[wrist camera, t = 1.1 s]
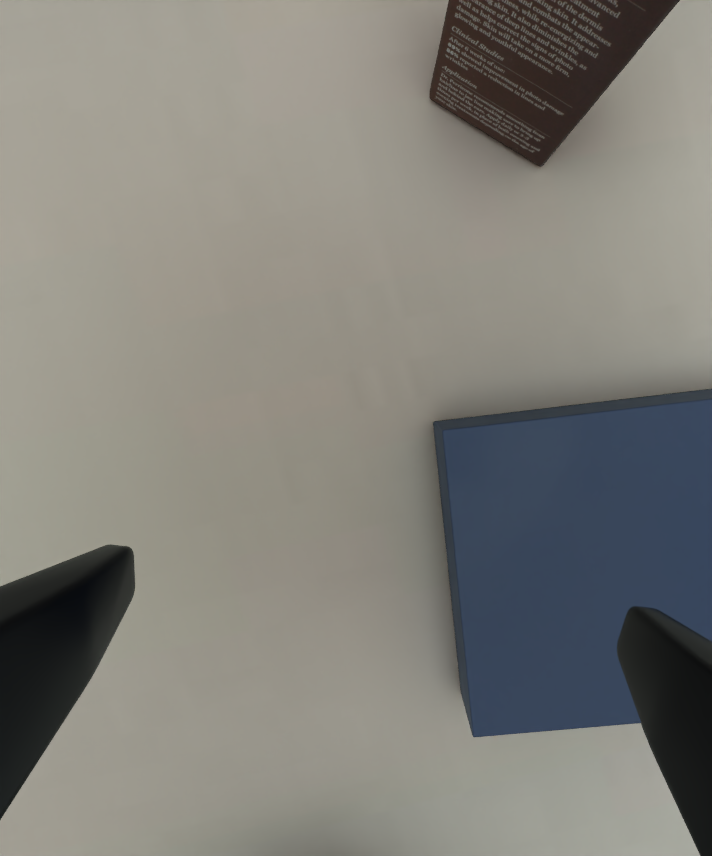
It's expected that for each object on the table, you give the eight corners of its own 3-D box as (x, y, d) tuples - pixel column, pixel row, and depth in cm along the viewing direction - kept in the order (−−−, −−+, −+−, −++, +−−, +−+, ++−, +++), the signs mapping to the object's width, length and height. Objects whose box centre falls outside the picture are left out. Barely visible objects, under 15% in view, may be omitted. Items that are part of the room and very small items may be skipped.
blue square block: (734, 668, 24) (785, 711, 21) (460, 692, 25) (473, 738, 22) (727, 386, 22) (782, 390, 19) (432, 421, 23) (442, 430, 20)
